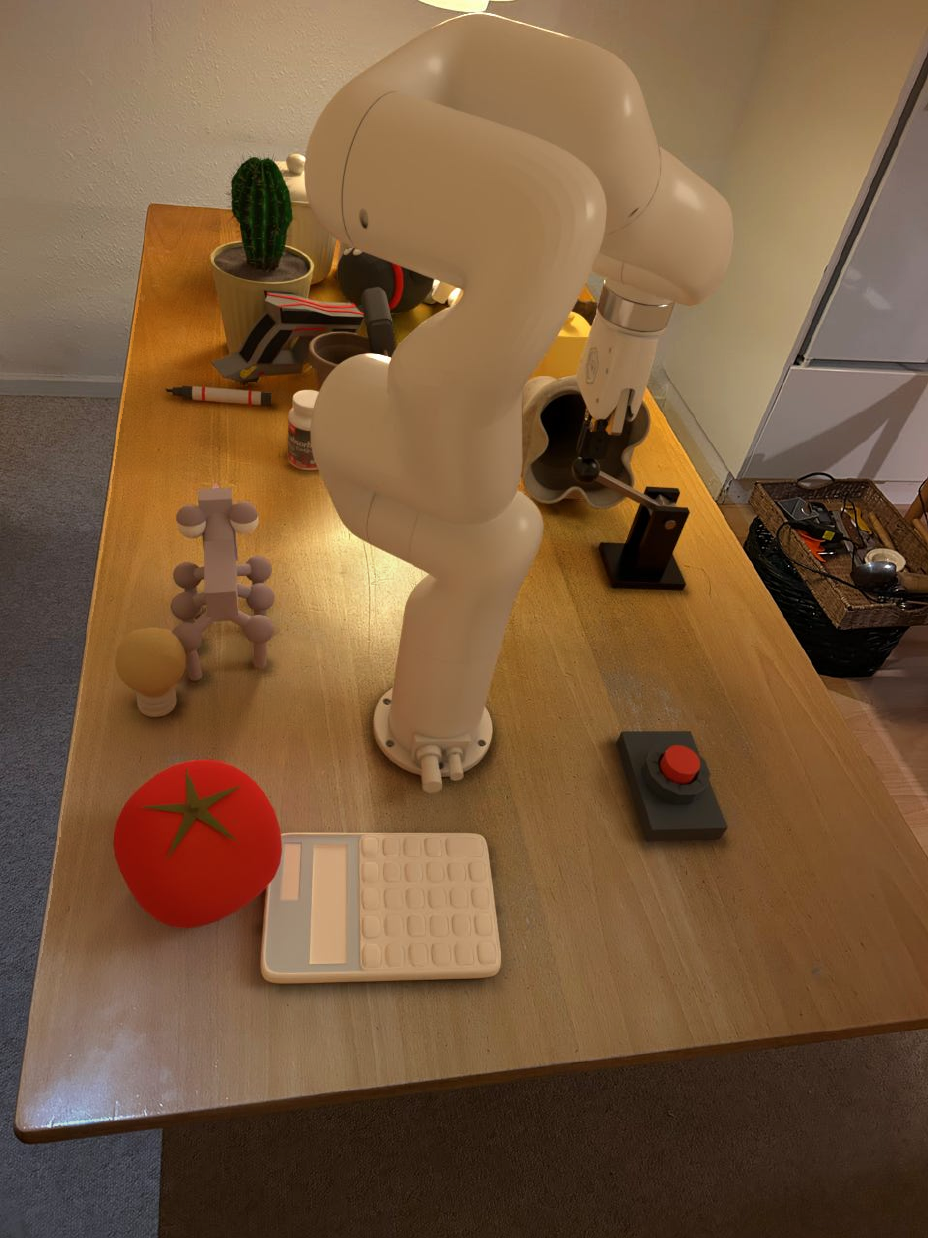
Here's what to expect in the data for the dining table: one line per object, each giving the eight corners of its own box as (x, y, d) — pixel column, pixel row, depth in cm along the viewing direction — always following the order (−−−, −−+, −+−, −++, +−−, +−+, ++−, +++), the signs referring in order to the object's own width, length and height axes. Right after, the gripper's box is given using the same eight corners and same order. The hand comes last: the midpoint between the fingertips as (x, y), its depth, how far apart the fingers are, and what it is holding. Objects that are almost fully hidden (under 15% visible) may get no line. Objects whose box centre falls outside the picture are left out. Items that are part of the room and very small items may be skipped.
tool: (203, 374, 129) (234, 287, 120) (326, 370, 148) (361, 294, 139) (220, 395, 127) (253, 308, 118) (343, 388, 146) (379, 313, 137)
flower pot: (359, 384, 138) (364, 325, 131) (395, 420, 132) (402, 360, 125) (293, 396, 132) (295, 335, 125) (328, 435, 126) (332, 373, 119)
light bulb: (124, 734, 84) (111, 666, 77) (124, 685, 88) (111, 617, 81) (192, 727, 86) (185, 660, 79) (189, 679, 90) (182, 612, 83)
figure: (468, 334, 163) (464, 269, 179) (490, 302, 158) (484, 237, 174) (408, 302, 158) (410, 237, 174) (430, 267, 153) (429, 204, 169)
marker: (271, 401, 130) (271, 389, 129) (271, 408, 129) (270, 396, 127) (166, 393, 127) (165, 381, 126) (164, 400, 126) (163, 387, 124)
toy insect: (177, 559, 103) (167, 464, 93) (268, 557, 105) (267, 465, 96) (173, 685, 89) (162, 589, 80) (278, 679, 92) (278, 586, 83)
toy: (459, 209, 149) (380, 233, 136) (468, 304, 157) (395, 334, 145) (376, 208, 160) (296, 230, 147) (388, 297, 169) (314, 324, 156)
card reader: (371, 368, 140) (357, 287, 128) (395, 364, 140) (384, 283, 128) (378, 405, 135) (364, 325, 123) (403, 401, 135) (392, 320, 123)
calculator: (500, 980, 72) (505, 970, 71) (259, 987, 69) (258, 977, 68) (483, 840, 82) (487, 829, 80) (270, 840, 78) (270, 829, 77)
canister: (361, 278, 166) (369, 161, 152) (300, 304, 154) (303, 181, 140) (288, 246, 171) (290, 130, 157) (224, 270, 159) (219, 147, 145)
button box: (720, 839, 86) (734, 817, 83) (645, 841, 85) (658, 819, 82) (684, 743, 94) (696, 720, 92) (615, 743, 93) (626, 720, 90)
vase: (474, 326, 130) (516, 377, 107) (610, 313, 133) (681, 360, 109) (480, 461, 142) (519, 534, 118) (605, 446, 144) (668, 515, 121)
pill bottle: (279, 461, 120) (279, 398, 113) (302, 444, 124) (304, 382, 117) (313, 477, 118) (315, 414, 112) (336, 459, 122) (339, 397, 116)
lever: (569, 482, 101) (587, 461, 99) (563, 465, 104) (580, 444, 102) (665, 532, 109) (684, 513, 107) (658, 515, 111) (676, 496, 109)
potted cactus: (317, 335, 147) (324, 145, 126) (303, 380, 136) (308, 179, 115) (226, 321, 145) (218, 126, 125) (204, 365, 134) (192, 159, 114)
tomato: (218, 785, 82) (212, 707, 74) (309, 884, 76) (314, 812, 68) (92, 865, 74) (70, 788, 66) (182, 982, 68) (170, 914, 60)
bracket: (612, 588, 111) (638, 517, 103) (597, 548, 117) (622, 477, 109) (683, 590, 113) (715, 520, 105) (666, 551, 119) (695, 482, 111)
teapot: (607, 405, 145) (629, 335, 137) (494, 401, 140) (509, 328, 132) (584, 364, 155) (602, 296, 146) (477, 359, 150) (490, 288, 141)
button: (699, 784, 86) (705, 774, 85) (665, 784, 85) (671, 774, 84) (688, 754, 89) (693, 744, 87) (655, 755, 88) (661, 744, 87)
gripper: (584, 271, 93) (547, 418, 105) (618, 338, 82) (572, 491, 95) (649, 278, 94) (605, 422, 107) (690, 344, 84) (636, 495, 97)
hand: (589, 454), depth 101 cm, fingers closed
